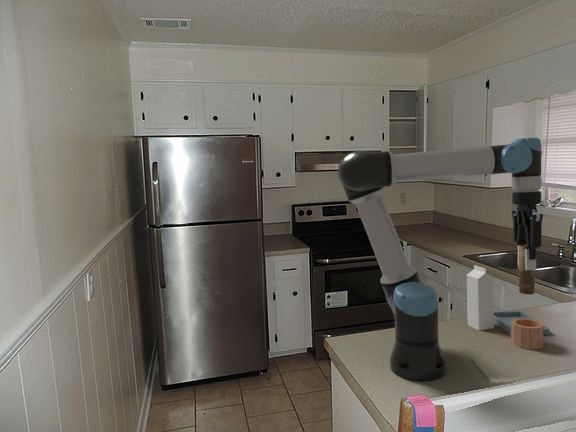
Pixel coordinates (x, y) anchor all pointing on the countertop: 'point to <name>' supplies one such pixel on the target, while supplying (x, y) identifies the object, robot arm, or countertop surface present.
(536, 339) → the cup
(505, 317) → the tray
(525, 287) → the baguette
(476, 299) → the milk
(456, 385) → the countertop surface
